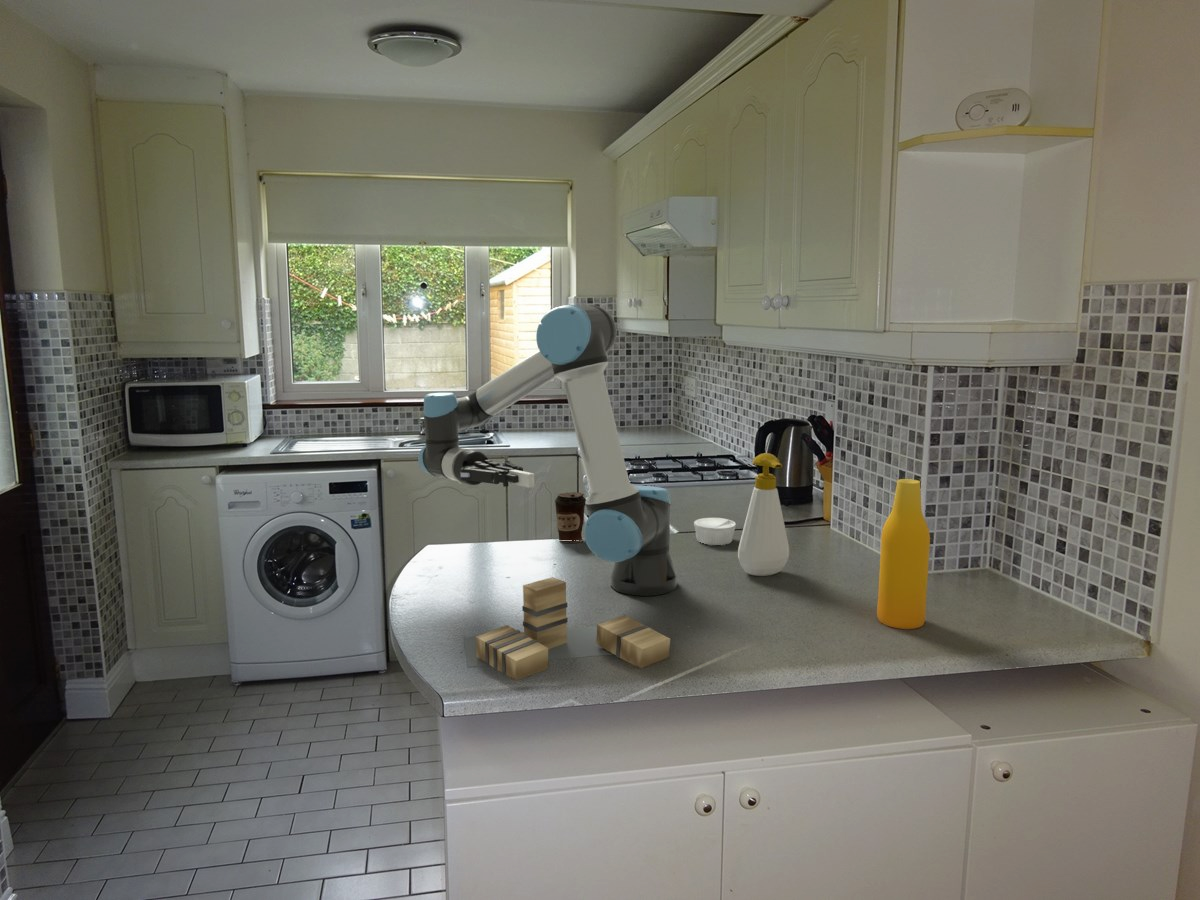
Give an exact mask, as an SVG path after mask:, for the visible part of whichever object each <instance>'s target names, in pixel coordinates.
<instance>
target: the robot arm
mask: <svg viewBox="0 0 1200 900" xmlns="http://www.w3.org/2000/svg"><path fill="white" fill-rule="evenodd" d="M617 329H618V328H617V324H616V322H615V319H614V318H613V316H612V314H611V313H610V312H609V311H607V310H606V309H605V308H603V307H601V306H598V305H594V304H586V305H585V304H584V305H583V304H581V305H580V304H578V305H577V304H571V303H570V304H565V305H561V306H560V305H559V306H557V307H554V308H552V309H550V310H548V312H546V313H545V314H544V315H543V316H542V318H541V319H540V322H539V324H538V326H537V329H536V338H535V339H536V345H537V348H538V349H537V350H535V351H534V352H533V353H531V354H530V355H528V356H526V357H525V358H523V359H522V360H520V361H519V362H517V363H515V364H514V365H513V366H511V367H510V368H507V370H505V371H502V372H501V373H500V374H499V375H497V376H495V377H494V378H492V379H490V380H489V381H488V382H486V383H484V384H483V385H482V386H480V387H478V388H477V389H476V390H474V391H472V392H471V393H469V394H468V395H465V396H464V397H457V395H456V394H455V393H454V392H431V393H426V395H425V396H424V397H423V412H422V413H423V422H424V434H425V436H424V437H425V443H424V446H423V447H421V449H420V452H419V454H418V457H417V459H418V460H417V461H418V464H419V467H420V468H421V470H422V471H423V472H425V473H426V474H429V475H431V476H433V477H436V478H441V479H446V480H450V481H455V482H458V484H459V485H461V484H466V485H469V486H478V485H479V484H481V483H485V484H492V485H493V484H494V485H498V484H500V483H501V484H502V485H503V488H505V487H506V488H507V487H509V484H510V485H516V486H519V487H524V488H527V489H529V488H535V486H536V484H535V473H533V472H528V471H524V467H522V466H520V465H517V464H514V463H512V462H511V461H509V460H505V461H503V462H502V464H500V462H496V461H493V460H491V459H488V457H487V455H486V454H484V453H483V452H481V451H477V450H472V449H467V448H463V447H460V446H459V445H460V443H459V431H464V430H468V429H471V428H472V429H473V428H477V427H481V426H484V425H486V424H488V423H491V421H492V420H493V419H494V416H496V415H497V414H499V413H501V412H502V411H504V410H506V409H507V408H508V407H511V406H512V405H514V404H516V403H517V402H519V401H520V400H523V398H525V397H527V396H529V395H530V394H532V393H533V392H535V391H536V390H538V389H540V388H542V387H543V386H544V385H546V384H548V383H550V382H552V381H553V380H555V379H558V380H559V381H561V382H562V383H563V385H564V390H565V394H566V397H567V402H568V403H567V404H568V407H569V411H570V415H571V418H572V422H573V427H574V432H575V435H576V439H577V442H578V447H579V451H580V457H581V460H582V465H583V467H584V472H585V476H586V480H587V484H588V488H589V495H588V496H587V498H586V503H585V507H586V510H587V515H588V518H587V520H586V522H585V524H584V526H583V527H584V529H583V537H584V542H585V543H586V545H587V547H588V548H589V550H590V551H591V552H592V554H593V555H595V556H597V557H598V558H600V559H601V560H602V561H605V562H609V563H614V565H613V568H612V571H611V573H610V587H611V586H612V587H611V588H612V589H614V591H617V592H619V593H622V594H627V595H630V596H642V597H643V596H645V597H646V596H658V595H663V594H667V593H670V592H672V591H674V590H676V588H677V586H678V577H677V576H678V575H677V573H676V569H675V566H674V563H673V560H672V557H671V554H670V537H671V536H670V532H671V531H670V529H671V526H670V525H671V522H670V521H671V505H672V503H671V499H670V496H671V495H670V491H669V490H668V489H667V488H663V487H660V486H653V485H652V486H650V485H634V484H631V482H630V479H629V478H630V477H629V475H628V470H627V467H626V461H625V458H624V453H623V449H622V445H621V441H620V436H619V432H618V428H617V423H616V420H615V419H616V418H615V416H614V412H613V407H612V403H611V400H610V399H611V398H610V395H609V391H608V388H607V382H606V379H605V375H604V372H605V370H606V369H607V366H608V364H609V359H608V355H607V353H609V352H610V351H611V350H612V348H613V347H614V346H615V342H616V340H617V334H618V330H617Z"/></svg>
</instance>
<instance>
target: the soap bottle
mask: <svg viewBox="0 0 1200 900" xmlns="http://www.w3.org/2000/svg"><path fill="white" fill-rule="evenodd" d="M752 465H755V466H760V467H761V466H762V473H758V474H757V476H755V478H754V480H755V481H754V487H753V489H752V493H751V496H750V501H749V504H748V509H747V512H746V513H747V514H746V516H745V521H744V524H743V529H742V532H741V537H740V540H739V545H738V548H737V549H738V550H737V557H738V561H739V563H740V566H741V568H742V569H743V570H744V572H746V573H747V574H749V575H750V576H754V577H766V576H773V575H776V574H778V573H779V572H780V571H782V570H783V568H784V567H785V566H786V564H787V561H788V559H789V556H790V545H789V542H788V541H789V540H788V536H787V531H786V526H785V520H784V516H783V511H782V507H781V501H780V496H779V490H778V488H777V486H776V485H777V477H776V476H775V475H774V474H773V473H770V468H773V469H778V468H779V469H781V468H782V467H783V464H782V463H780V459H779V458H778V457H776V456H775V455H774V454H772V453H768V452H764V453H760V454H758V455H757V456H755V457H754V459H753V460H752Z"/></svg>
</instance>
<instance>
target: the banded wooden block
mask: <svg viewBox="0 0 1200 900" xmlns="http://www.w3.org/2000/svg"><path fill="white" fill-rule="evenodd" d="M596 626H597V639H596V644H597V645H599V646H600V647H602V648H604V649H606V650H607V651H609V652H611V653H613V654H612V655H615V657H616V658H617V659H621V660H623V661H625V662H626V663H628V664H631V665H633V666H635V667H637V668H640V669H643V668H645V667H648V666H650V665H652V664H655V663H658V662H661V661H662V660H664V659H667V658H669V657H670V648H671V647H670V646H671V638H669V637H668V636H666V635H664V634H662V633H660V632H659V631H656V630H655V629H652V628H651V627H650V626H648V624H643V623H641V622H639V621H637V620H635V619H633V618H631V617H630V616H627V615H626V614H624V615H621V616H619V617H616V618H613V619H609V620H606V621H603V622H601V623H598V624H597V625H596Z"/></svg>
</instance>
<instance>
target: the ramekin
mask: <svg viewBox="0 0 1200 900" xmlns="http://www.w3.org/2000/svg"><path fill="white" fill-rule="evenodd" d="M693 526H694V530H695V531H694V532H695V537H696V540H697V542H698V543H700V542H701V543H700V544H702V543H704V544H703V545H705V544H709V545H708V546H712V545H721V546H726V544H727V545H729V544H731V542H732V541H733V540H734V536H735V535H734V534H735V529H736V527H737V523H736V522H735V521H734V520H732V519H731V520H730V519H728V518H724V517H723V518H722V517H702V518H698V519H696V520H694V521H693Z"/></svg>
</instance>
